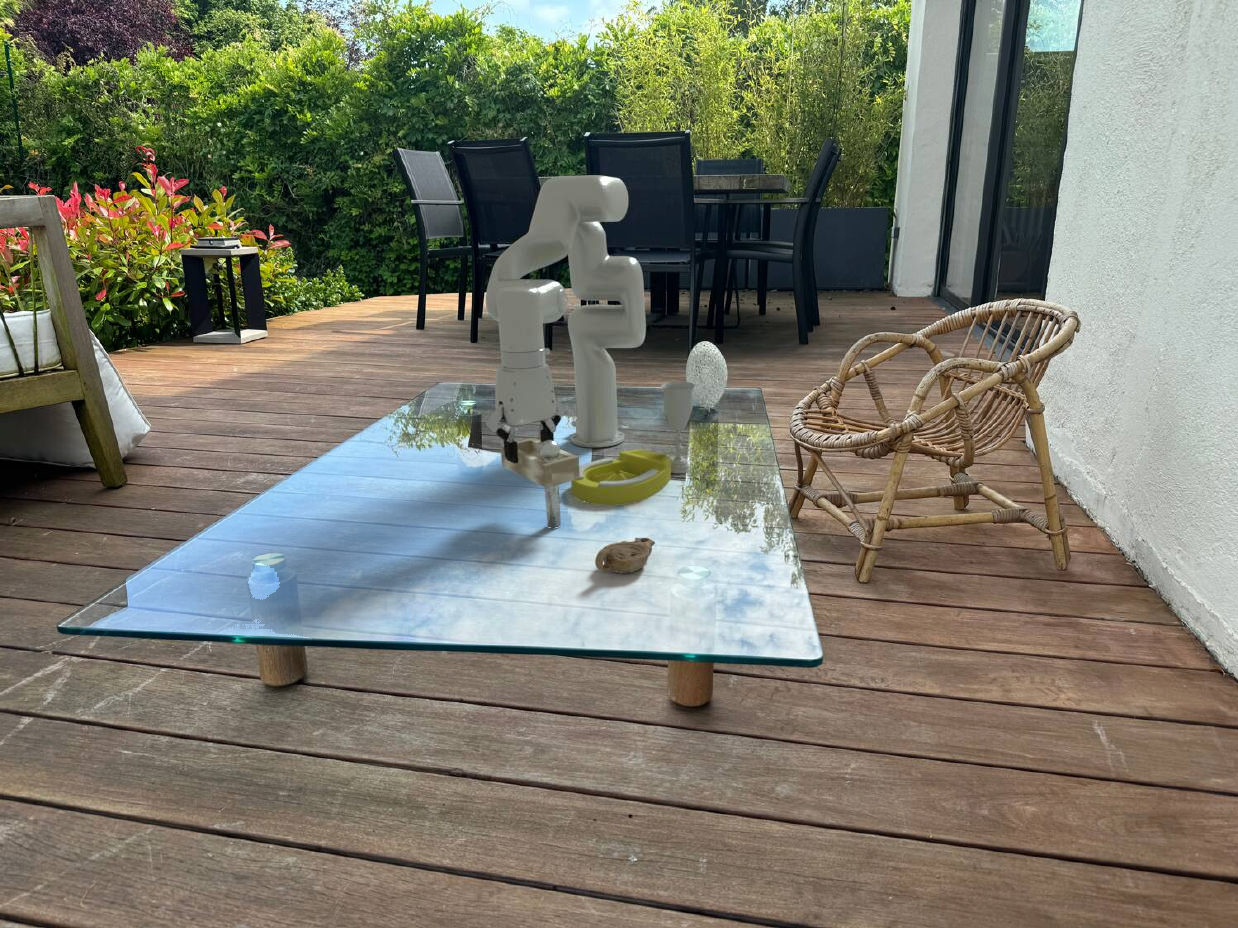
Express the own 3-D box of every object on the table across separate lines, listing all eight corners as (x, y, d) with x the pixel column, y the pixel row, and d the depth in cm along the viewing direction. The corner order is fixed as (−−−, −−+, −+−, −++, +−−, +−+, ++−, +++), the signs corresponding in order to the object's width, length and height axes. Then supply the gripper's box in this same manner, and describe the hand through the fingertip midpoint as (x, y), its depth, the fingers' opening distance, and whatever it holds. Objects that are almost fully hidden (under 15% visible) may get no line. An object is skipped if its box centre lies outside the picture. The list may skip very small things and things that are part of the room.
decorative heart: (683, 400, 235) (683, 339, 229) (722, 399, 235) (722, 337, 229) (689, 417, 218) (688, 351, 212) (730, 416, 218) (731, 350, 212)
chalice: (692, 475, 174) (692, 389, 168) (660, 474, 175) (658, 389, 170) (696, 464, 181) (696, 381, 175) (665, 463, 182) (664, 381, 177)
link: (502, 466, 155) (500, 445, 153) (533, 458, 158) (532, 437, 157) (546, 487, 143) (545, 465, 142) (579, 478, 147) (578, 456, 146)
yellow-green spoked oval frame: (686, 483, 171) (685, 460, 169) (615, 513, 156) (614, 487, 155) (625, 468, 181) (625, 445, 180) (554, 494, 167) (553, 470, 165)
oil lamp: (633, 548, 140) (632, 520, 138) (669, 560, 135) (669, 531, 134) (579, 576, 131) (577, 546, 129) (616, 589, 126) (615, 559, 124)
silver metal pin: (540, 525, 150) (534, 440, 146) (557, 520, 153) (552, 436, 148) (551, 531, 148) (545, 444, 143) (568, 526, 150) (563, 440, 145)
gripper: (553, 348, 154) (559, 442, 160) (468, 363, 145) (477, 462, 150) (576, 354, 149) (581, 451, 155) (489, 370, 139) (498, 473, 145)
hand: (530, 456), depth 152 cm, fingers closed on link, 6 cm apart
